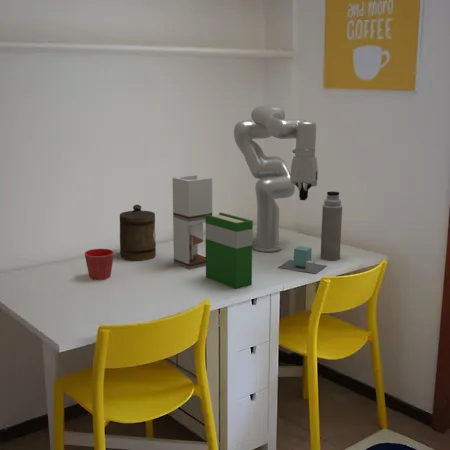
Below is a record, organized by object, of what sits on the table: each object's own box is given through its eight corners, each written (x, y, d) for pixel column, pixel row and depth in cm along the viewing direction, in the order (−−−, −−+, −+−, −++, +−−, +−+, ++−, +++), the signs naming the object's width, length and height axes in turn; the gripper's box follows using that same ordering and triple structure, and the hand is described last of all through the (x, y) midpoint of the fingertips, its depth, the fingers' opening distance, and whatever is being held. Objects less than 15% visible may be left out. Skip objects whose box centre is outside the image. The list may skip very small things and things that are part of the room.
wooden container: (163, 255, 265) (162, 204, 260) (136, 263, 254) (134, 210, 249) (140, 249, 275) (138, 200, 270) (113, 256, 264) (111, 205, 259)
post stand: (277, 268, 249) (278, 250, 247) (289, 260, 259) (290, 243, 257) (315, 274, 241) (316, 256, 239) (326, 266, 251) (327, 249, 250)
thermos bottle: (320, 255, 267) (322, 190, 261) (339, 255, 266) (342, 190, 260) (320, 260, 259) (323, 193, 253) (340, 260, 259) (343, 193, 252)
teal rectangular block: (293, 265, 249) (294, 248, 247) (298, 261, 253) (299, 246, 252) (305, 267, 246) (306, 250, 245) (310, 263, 251) (311, 247, 249)
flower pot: (120, 275, 239) (119, 250, 236) (101, 283, 229) (100, 257, 227) (99, 271, 244) (98, 246, 242) (79, 278, 235) (78, 253, 232)
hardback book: (205, 277, 237) (205, 215, 231) (220, 273, 241) (221, 212, 236) (236, 289, 224) (236, 223, 218) (251, 285, 228) (252, 220, 223)
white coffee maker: (189, 269, 246) (188, 181, 238) (173, 263, 254) (172, 177, 246) (212, 264, 253) (212, 178, 245) (196, 258, 261) (195, 174, 253)
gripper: (283, 153, 244) (282, 199, 249) (319, 155, 237) (317, 203, 242) (291, 151, 251) (289, 196, 255) (326, 153, 243) (324, 200, 248)
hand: (303, 199), depth 248 cm, fingers closed
